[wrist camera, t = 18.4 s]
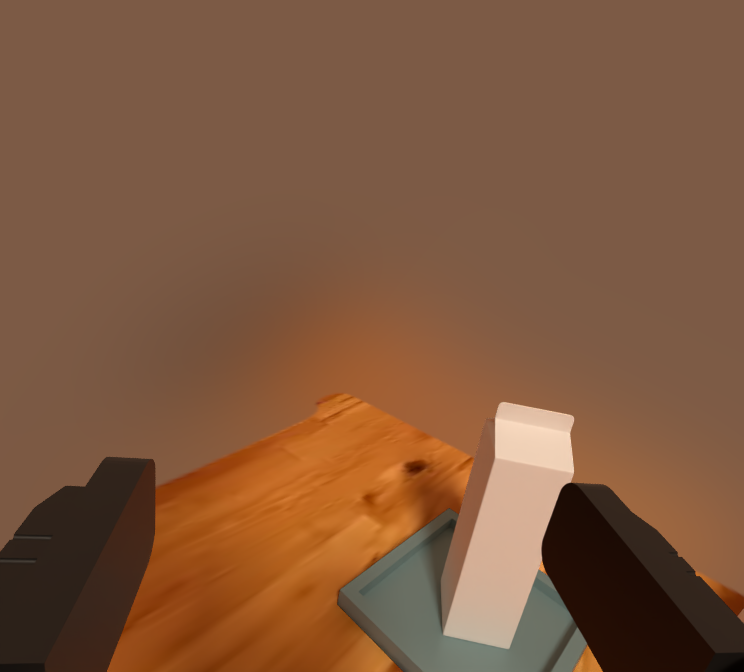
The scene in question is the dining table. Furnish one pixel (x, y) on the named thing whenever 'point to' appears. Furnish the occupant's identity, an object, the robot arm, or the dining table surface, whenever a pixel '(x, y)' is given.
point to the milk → (504, 522)
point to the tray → (424, 614)
